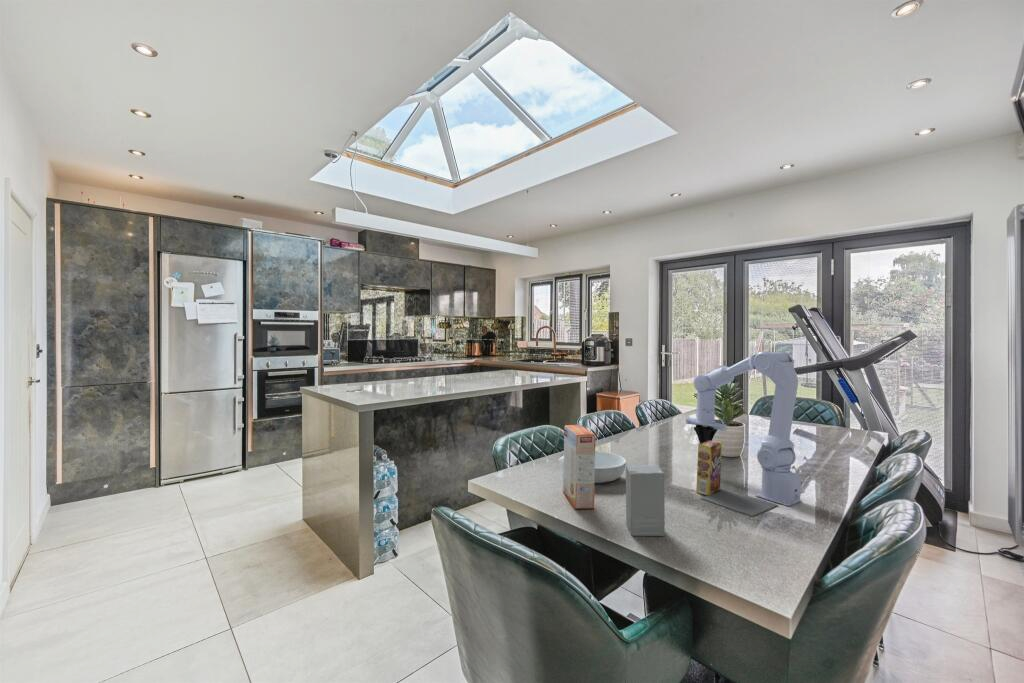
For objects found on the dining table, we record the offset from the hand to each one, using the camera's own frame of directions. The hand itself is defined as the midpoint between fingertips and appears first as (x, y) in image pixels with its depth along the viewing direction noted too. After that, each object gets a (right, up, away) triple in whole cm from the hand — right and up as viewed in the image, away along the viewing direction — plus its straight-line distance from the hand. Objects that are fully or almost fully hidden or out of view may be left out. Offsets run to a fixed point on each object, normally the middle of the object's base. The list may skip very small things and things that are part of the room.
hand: (705, 447), depth 152 cm
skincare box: (-36, -10, -46) cm, 59 cm away
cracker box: (-49, -9, -26) cm, 56 cm away
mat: (-2, -10, -26) cm, 28 cm away
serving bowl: (-40, -9, -6) cm, 42 cm away
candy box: (-7, -10, -17) cm, 21 cm away
